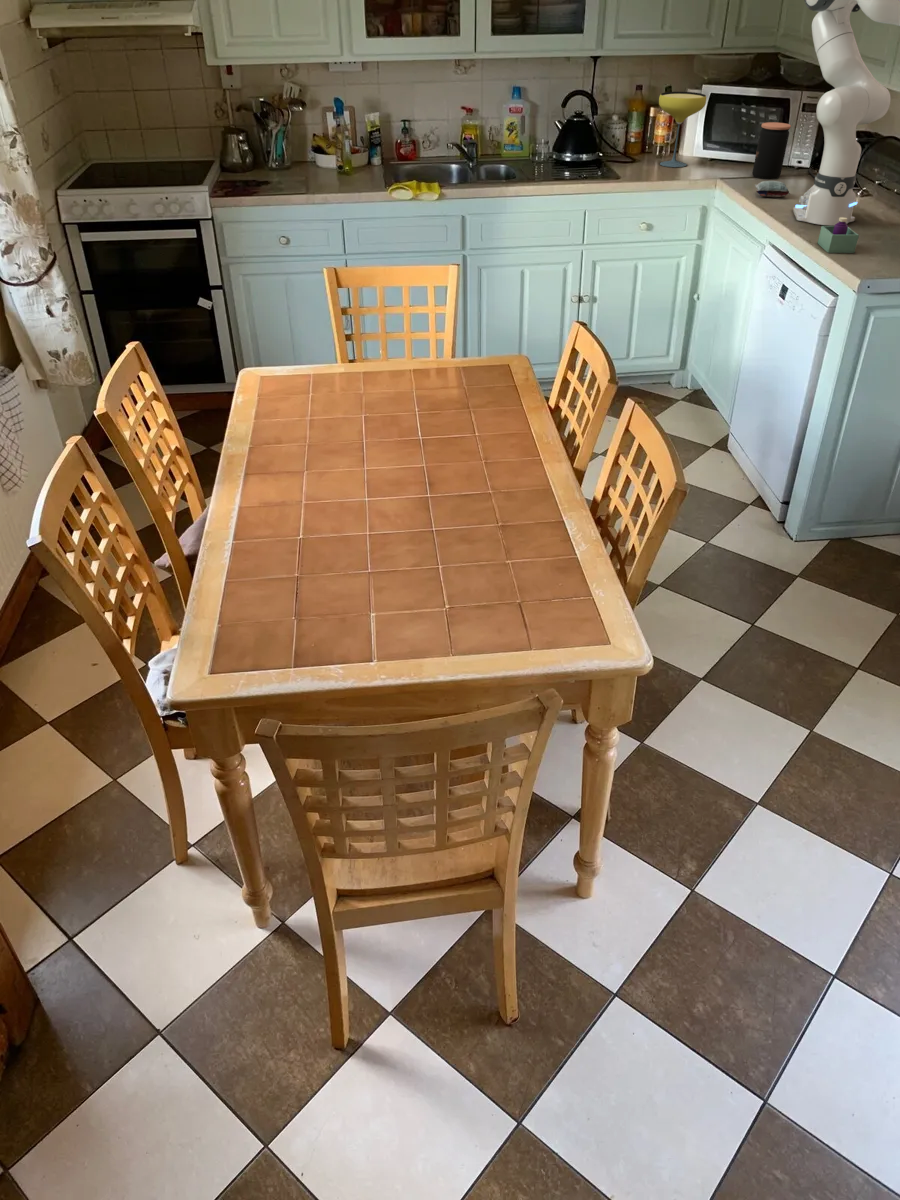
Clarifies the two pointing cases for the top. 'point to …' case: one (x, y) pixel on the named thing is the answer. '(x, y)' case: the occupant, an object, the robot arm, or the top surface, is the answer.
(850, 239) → the bin
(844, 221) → the grape juice bottle
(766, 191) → the packaged food
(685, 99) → the cocktail glass
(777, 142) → the coffee jar
